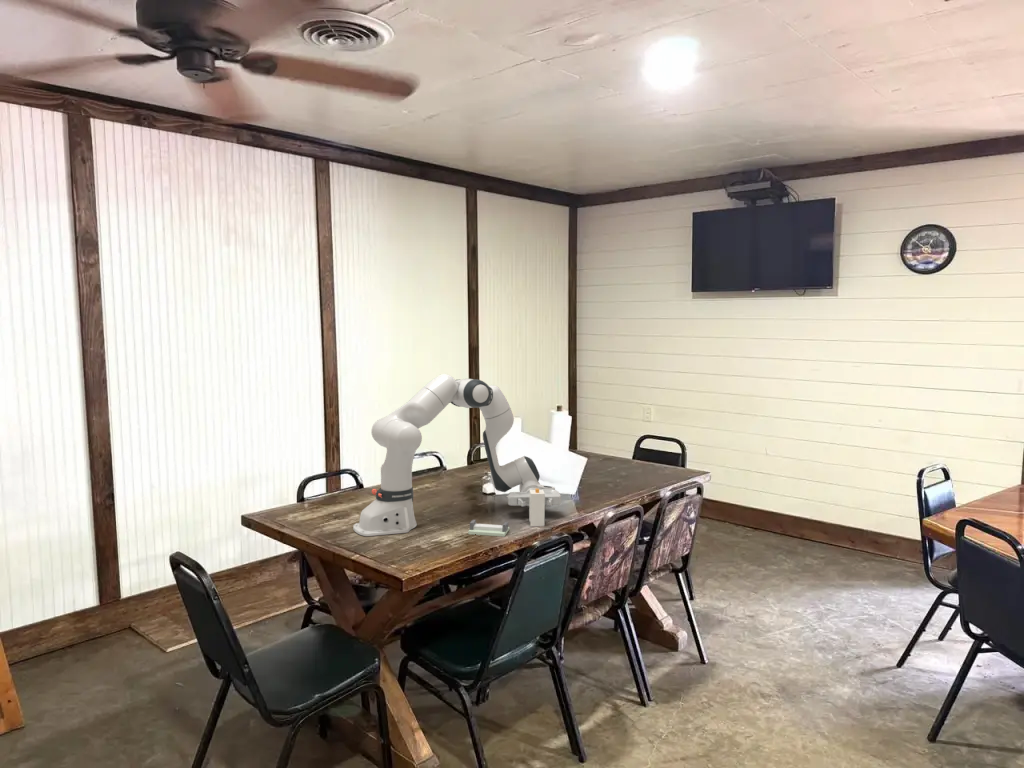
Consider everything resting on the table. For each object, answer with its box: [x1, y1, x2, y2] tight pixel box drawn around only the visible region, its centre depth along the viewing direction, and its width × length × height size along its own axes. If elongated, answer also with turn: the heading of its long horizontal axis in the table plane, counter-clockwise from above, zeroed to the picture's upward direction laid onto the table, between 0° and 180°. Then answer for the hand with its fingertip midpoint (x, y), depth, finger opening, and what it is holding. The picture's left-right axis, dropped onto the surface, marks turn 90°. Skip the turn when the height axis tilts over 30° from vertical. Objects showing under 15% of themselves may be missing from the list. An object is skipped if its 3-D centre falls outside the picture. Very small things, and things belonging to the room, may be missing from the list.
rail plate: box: [467, 519, 510, 538], centre depth 245 cm, size 8×13×3 cm, turn 78°
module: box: [528, 489, 546, 527], centre depth 255 cm, size 6×5×13 cm
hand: (536, 504), depth 256 cm, fingers open, 8 cm apart
